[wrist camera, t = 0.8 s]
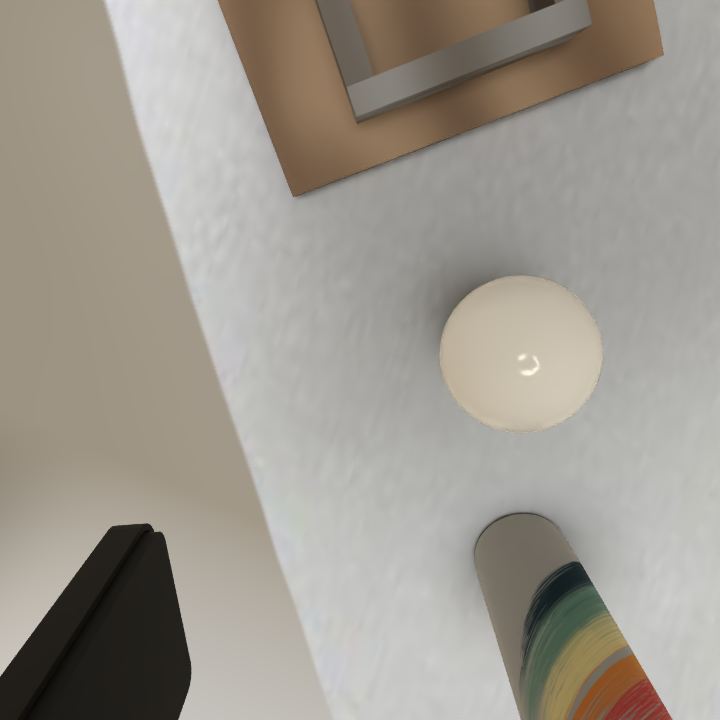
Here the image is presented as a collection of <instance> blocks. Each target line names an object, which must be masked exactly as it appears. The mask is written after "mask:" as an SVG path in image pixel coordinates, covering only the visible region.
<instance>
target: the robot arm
mask: <svg viewBox="0 0 720 720" xmlns="http://www.w3.org/2000/svg"><path fill="white" fill-rule="evenodd" d="M190 681H191V661H190V656H189V652H188V647H187V643H186V637H185V632H184V628H183V623H182V618H181V613H180V608H179V604H178V598H177V594H176V589H175V584H174V579H173V574H172V569H171V565H170V560H169V555H168V550H167V545H166V541H165V538H164V535H163V533H161V532H154V530H153V528H152V526H151V525H150V524H133V525H118V526H112V527H111V528H110V529H109V530H108V531H107V533H106V534H105V536H104V537H103V538H102V540H101V541H100V542H99V544H98V545H97V546H96V548H95V549H94V551H93V552H92V553H91V554H90V556H89V557H88V558H87V560H86V561H85V563H84V564H83V565H82V567H81V568H80V569H79V571H78V572H77V573H76V575H75V576H74V578H73V579H72V580H71V581H70V583H69V584H68V586H67V587H66V588H65V590H64V591H63V592H62V594H61V595H60V596H59V598H58V599H57V601H56V602H55V603H54V605H53V606H52V607H51V609H50V610H49V611H48V613H47V614H46V615H45V617H44V618H43V619H42V621H41V622H40V624H39V625H38V626H37V628H36V629H35V630H34V632H33V633H32V634H31V636H30V637H29V638H28V640H27V641H26V642H25V644H24V645H23V647H22V648H21V649H20V651H19V652H18V653H17V655H16V656H15V657H14V659H13V660H12V661H11V663H10V664H9V666H8V667H7V668H6V670H5V671H4V672H3V674H2V675H1V676H0V720H178V719H179V716H180V713H181V710H182V708H183V705H184V702H185V699H186V696H187V693H188V690H189V686H190Z"/></svg>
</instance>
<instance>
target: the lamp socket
mask: <svg viewBox="0 0 720 720" xmlns="http://www.w3.org/2000/svg"><path fill="white" fill-rule="evenodd" d="M218 2H219V4H220V7H221V10H222V12H223V15H224V17H225V20H226V23H227V25H228V28H229V31H230V33H231V36H232V38H233V41H234V44H235V46H236V49H237V51H238V54H239V57H240V59H241V62H242V65H243V67H244V70H245V72H246V75H247V78H248V80H249V83H250V85H251V88H252V91H253V93H254V96H255V99H256V101H257V104H258V106H259V109H260V112H261V114H262V117H263V119H264V122H265V125H266V127H267V130H268V133H269V135H270V138H271V140H272V143H273V146H274V148H275V151H276V153H277V156H278V159H279V161H280V164H281V167H282V169H283V172H284V174H285V177H286V180H287V182H288V185H289V187H290V190H291V193H292V195H293V197H294V196H298V195H301V194H303V193H306V192H309V191H311V190H314V189H316V188H319V187H322V186H324V185H327V184H330V183H332V182H335V181H337V180H340V179H343V178H345V177H348V176H350V175H353V174H356V173H358V172H361V171H363V170H366V169H369V168H371V167H374V166H377V165H379V164H382V163H384V162H387V161H390V160H392V159H395V158H397V157H400V156H403V155H405V154H408V153H411V152H413V151H416V150H418V149H421V148H424V147H426V146H429V145H431V144H434V143H437V142H439V141H442V140H445V139H447V138H450V137H452V136H455V135H458V134H460V133H463V132H465V131H468V130H471V129H473V128H476V127H479V126H481V125H484V124H486V123H489V122H492V121H494V120H497V119H499V118H502V117H505V116H507V115H510V114H513V113H515V112H518V111H520V110H523V109H526V108H528V107H531V106H533V105H536V104H539V103H541V102H544V101H546V100H549V99H552V98H554V97H557V96H560V95H562V94H565V93H567V92H570V91H573V90H575V89H578V88H580V87H583V86H586V85H588V84H591V83H594V82H596V81H599V80H601V79H604V78H607V77H609V76H612V75H614V74H617V73H620V72H622V71H625V70H628V69H630V68H633V67H635V66H638V65H641V64H643V63H646V62H648V61H651V60H653V59H655V58H658V57H660V56H662V55H664V53H663V48H662V42H661V37H660V32H659V27H658V22H657V17H656V11H655V6H654V1H653V0H218Z"/></svg>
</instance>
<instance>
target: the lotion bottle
mask: <svg viewBox="0 0 720 720" xmlns="http://www.w3.org/2000/svg"><path fill="white" fill-rule="evenodd" d="M475 566H476V571H477V575H478V579H479V582H480V586H481V589H482V592H483V596H484V599H485V602H486V606H487V609H488V612H489V616H490V619H491V622H492V625H493V629H494V632H495V635H496V639H497V642H498V645H499V649H500V652H501V655H502V658H503V662H504V665H505V668H506V672H507V675H508V678H509V682H510V685H511V688H512V691H513V695H514V698H515V701H516V705H517V708H518V711H519V715H520V718H521V720H672V718H671V716H670V715H669V713H668V711H667V710H666V708H665V706H664V704H663V703H662V701H661V699H660V698H659V696H658V694H657V693H656V691H655V689H654V687H653V686H652V684H651V682H650V681H649V679H648V677H647V675H646V674H645V672H644V670H643V669H642V667H641V665H640V664H639V662H638V660H637V658H636V657H635V655H634V653H633V652H632V650H631V648H630V646H629V645H628V643H627V641H626V640H625V638H624V636H623V635H622V633H621V631H620V629H619V628H618V626H617V624H616V623H615V621H614V619H613V617H612V616H611V614H610V612H609V611H608V609H607V607H606V606H605V604H604V602H603V600H602V599H601V597H600V595H599V594H598V592H597V590H596V588H595V587H594V585H593V583H592V582H591V580H590V578H589V577H588V575H587V573H586V571H585V570H584V568H583V566H582V565H581V563H580V561H579V560H578V558H577V556H576V554H575V553H574V551H573V549H572V548H571V546H570V544H569V543H568V541H567V540H566V538H565V537H564V535H563V534H562V533H561V531H560V530H559V529H558V528H557V527H556V526H555V525H554V524H553V523H551V522H550V521H548V520H547V519H545V518H543V517H540V516H537V515H532V514H515V515H510V516H507V517H504V518H502V519H500V520H498V521H496V522H494V523H493V524H492V525H490V526H489V527H488V528H487V529H486V530H485V531H484V532H483V534H482V535H481V537H480V538H479V540H478V542H477V545H476V548H475Z"/></svg>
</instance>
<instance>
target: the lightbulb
mask: <svg viewBox="0 0 720 720" xmlns="http://www.w3.org/2000/svg"><path fill="white" fill-rule="evenodd" d="M602 362H603V345H602V339H601V335H600V331H599V328H598V326H597V323H596V321H595V319H594V317H593V316H592V314H591V312H590V311H589V309H588V308H587V307H586V306H585V304H584V303H583V302H582V301H581V300H580V299H579V298H578V297H577V296H576V295H575V294H573V293H572V292H571V291H569V290H568V289H566V288H565V287H563V286H561V285H560V284H557V283H555V282H553V281H550V280H547V279H544V278H540V277H535V276H526V275H517V276H508V277H502V278H499V279H495V280H492V281H490V282H487V283H485V284H483V285H481V286H480V287H478V288H476V289H475V290H473V291H472V292H470V293H469V294H468V295H467V296H466V297H465V298H464V299H462V301H461V302H460V303H459V304H458V305H457V306H456V307H455V309H454V310H453V312H452V313H451V315H450V317H449V318H448V320H447V323H446V325H445V327H444V330H443V333H442V337H441V342H440V366H441V372H442V375H443V379H444V382H445V384H446V386H447V388H448V390H449V392H450V394H451V395H452V397H453V398H454V400H455V401H456V402H457V404H458V405H459V406H460V407H461V408H462V409H463V410H464V411H465V412H466V413H467V414H469V415H470V416H471V417H473V418H474V419H476V420H477V421H479V422H481V423H482V424H484V425H487V426H489V427H491V428H494V429H497V430H501V431H505V432H512V433H530V432H537V431H541V430H545V429H548V428H551V427H554V426H556V425H558V424H560V423H562V422H564V421H565V420H567V419H568V418H570V417H571V416H572V415H574V414H575V413H576V412H577V411H578V410H579V409H580V408H581V407H582V406H583V405H584V404H585V403H586V401H587V400H588V399H589V397H590V396H591V394H592V393H593V391H594V389H595V387H596V385H597V382H598V380H599V377H600V373H601V369H602Z"/></svg>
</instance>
